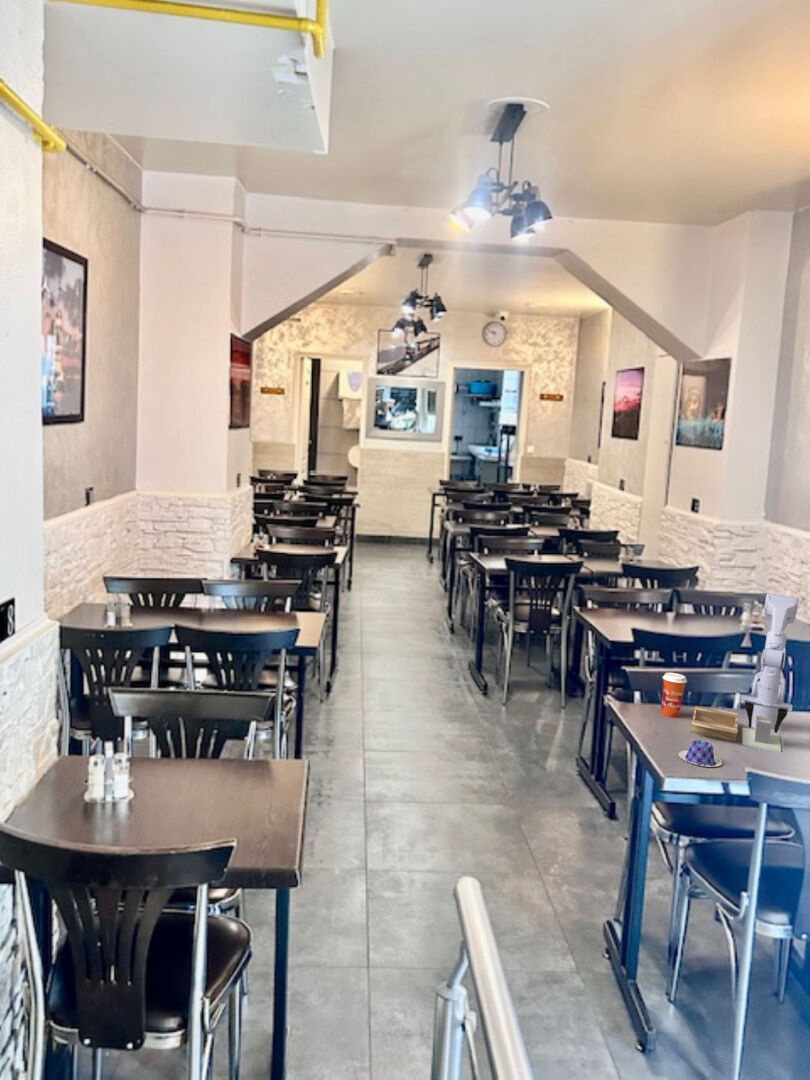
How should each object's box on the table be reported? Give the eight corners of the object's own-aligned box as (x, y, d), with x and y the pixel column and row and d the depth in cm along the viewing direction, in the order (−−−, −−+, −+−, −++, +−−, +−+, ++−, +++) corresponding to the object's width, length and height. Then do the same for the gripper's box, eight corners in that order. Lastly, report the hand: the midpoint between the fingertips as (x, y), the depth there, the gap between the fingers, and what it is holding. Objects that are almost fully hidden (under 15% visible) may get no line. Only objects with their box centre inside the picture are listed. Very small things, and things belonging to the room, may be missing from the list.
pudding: (716, 772, 241) (719, 754, 240) (673, 760, 247) (675, 743, 247) (725, 760, 251) (728, 743, 251) (684, 749, 257) (686, 732, 257)
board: (741, 730, 280) (742, 727, 279) (778, 737, 276) (779, 734, 276) (741, 745, 265) (742, 742, 265) (780, 753, 261) (781, 750, 261)
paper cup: (657, 717, 285) (663, 676, 283) (657, 710, 292) (663, 670, 290) (682, 721, 283) (687, 680, 281) (681, 715, 290) (687, 674, 288)
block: (754, 733, 274) (756, 715, 274) (767, 736, 273) (770, 717, 272) (754, 741, 267) (757, 722, 266) (768, 744, 265) (771, 725, 265)
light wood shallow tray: (693, 718, 287) (695, 705, 287) (735, 726, 283) (737, 713, 282) (690, 737, 268) (691, 723, 267) (735, 746, 263) (737, 732, 262)
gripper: (744, 685, 266) (737, 728, 268) (795, 694, 261) (788, 738, 263) (744, 680, 273) (737, 721, 274) (793, 689, 268) (787, 731, 269)
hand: (762, 729), depth 269 cm, fingers open, 7 cm apart
